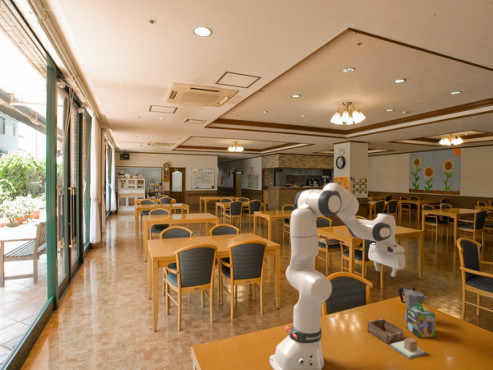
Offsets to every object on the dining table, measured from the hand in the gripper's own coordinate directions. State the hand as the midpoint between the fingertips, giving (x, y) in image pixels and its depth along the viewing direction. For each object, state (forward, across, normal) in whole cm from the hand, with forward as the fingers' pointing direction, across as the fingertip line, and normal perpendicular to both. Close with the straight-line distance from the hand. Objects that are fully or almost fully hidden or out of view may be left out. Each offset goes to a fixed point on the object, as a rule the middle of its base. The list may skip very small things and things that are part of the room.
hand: (385, 273), depth 147 cm
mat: (+29, +16, -3) cm, 33 cm away
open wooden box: (+29, +3, -3) cm, 29 cm away
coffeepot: (+29, -5, +24) cm, 38 cm away
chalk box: (+29, +7, +16) cm, 34 cm away
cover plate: (+29, +16, -3) cm, 33 cm away
